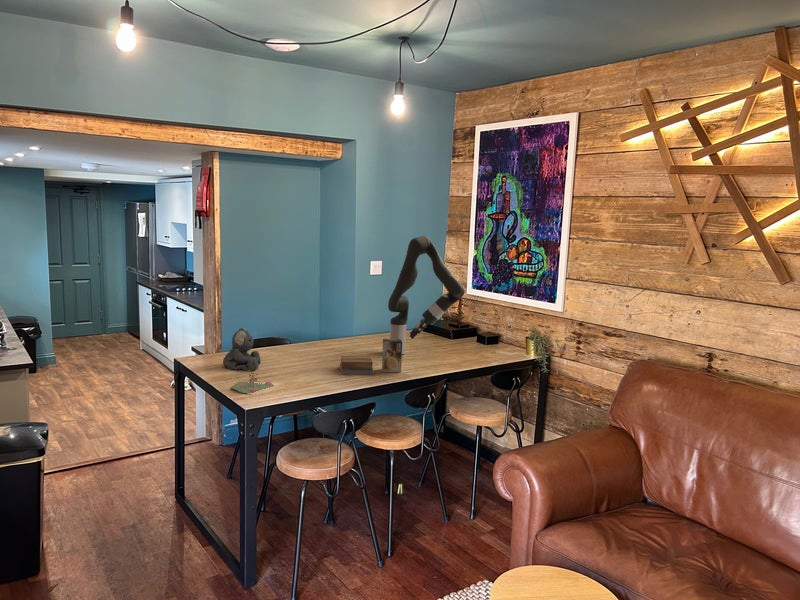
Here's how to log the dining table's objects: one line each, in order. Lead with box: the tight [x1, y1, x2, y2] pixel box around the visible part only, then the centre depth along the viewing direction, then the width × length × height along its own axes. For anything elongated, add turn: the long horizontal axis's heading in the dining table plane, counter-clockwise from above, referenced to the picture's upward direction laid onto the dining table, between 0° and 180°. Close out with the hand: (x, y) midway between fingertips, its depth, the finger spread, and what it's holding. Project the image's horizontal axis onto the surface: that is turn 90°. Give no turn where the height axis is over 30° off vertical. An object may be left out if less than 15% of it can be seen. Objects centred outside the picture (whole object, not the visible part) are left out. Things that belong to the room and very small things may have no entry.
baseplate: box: [339, 362, 374, 376], centre depth 301 cm, size 14×16×2 cm
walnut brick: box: [340, 355, 374, 370], centre depth 301 cm, size 12×15×4 cm
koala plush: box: [222, 326, 262, 371], centre depth 297 cm, size 17×18×20 cm
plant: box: [230, 370, 274, 394], centre depth 266 cm, size 25×21×9 cm
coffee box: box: [381, 338, 403, 373], centre depth 304 cm, size 9×6×16 cm
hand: (410, 336), depth 303 cm, fingers open, 8 cm apart
